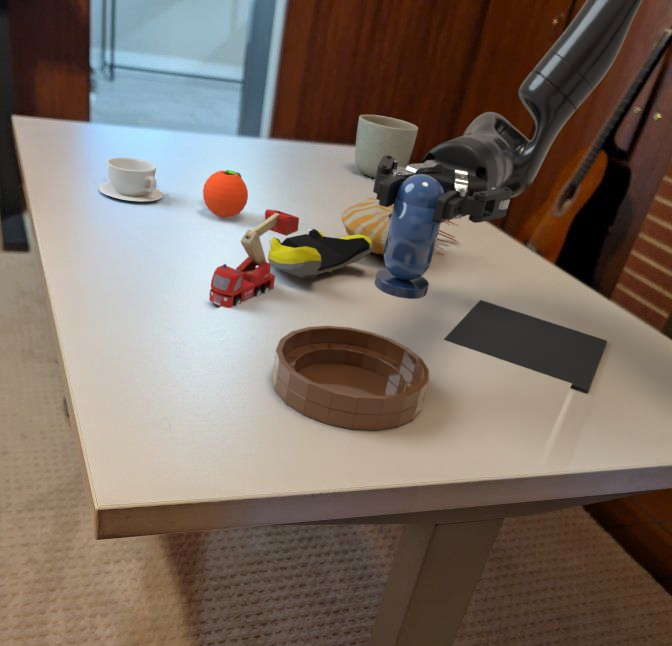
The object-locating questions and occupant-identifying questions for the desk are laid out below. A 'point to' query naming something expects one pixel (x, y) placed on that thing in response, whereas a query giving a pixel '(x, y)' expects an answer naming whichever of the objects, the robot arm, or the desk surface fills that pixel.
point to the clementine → (225, 193)
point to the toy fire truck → (250, 264)
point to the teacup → (131, 180)
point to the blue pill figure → (410, 238)
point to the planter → (383, 142)
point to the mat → (530, 343)
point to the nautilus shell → (373, 223)
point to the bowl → (349, 377)
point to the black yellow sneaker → (316, 253)
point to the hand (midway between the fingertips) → (411, 202)
